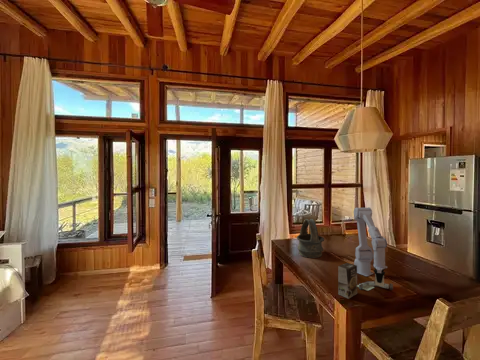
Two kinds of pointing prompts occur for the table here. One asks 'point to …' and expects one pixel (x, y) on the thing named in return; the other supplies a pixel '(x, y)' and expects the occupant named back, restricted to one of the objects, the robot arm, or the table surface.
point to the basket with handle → (310, 240)
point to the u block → (379, 283)
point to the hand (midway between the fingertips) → (379, 280)
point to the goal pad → (367, 287)
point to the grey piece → (372, 283)
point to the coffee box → (347, 280)
